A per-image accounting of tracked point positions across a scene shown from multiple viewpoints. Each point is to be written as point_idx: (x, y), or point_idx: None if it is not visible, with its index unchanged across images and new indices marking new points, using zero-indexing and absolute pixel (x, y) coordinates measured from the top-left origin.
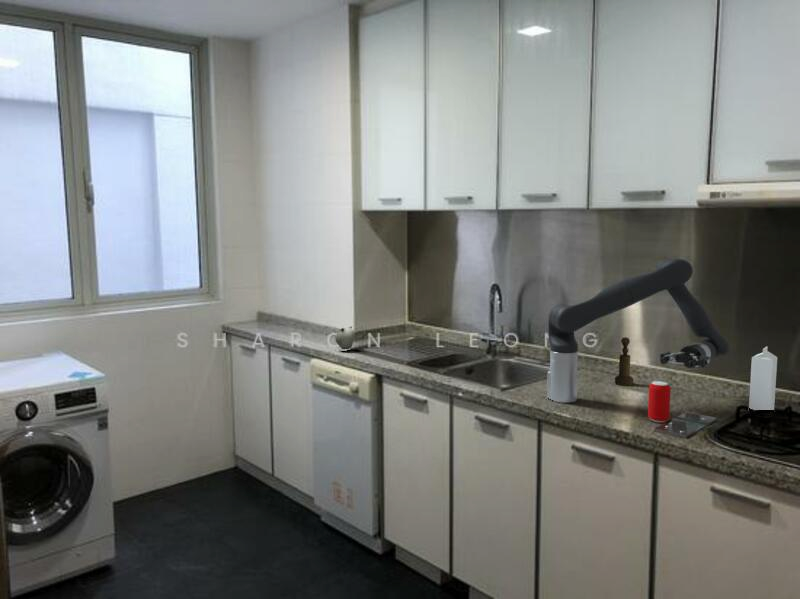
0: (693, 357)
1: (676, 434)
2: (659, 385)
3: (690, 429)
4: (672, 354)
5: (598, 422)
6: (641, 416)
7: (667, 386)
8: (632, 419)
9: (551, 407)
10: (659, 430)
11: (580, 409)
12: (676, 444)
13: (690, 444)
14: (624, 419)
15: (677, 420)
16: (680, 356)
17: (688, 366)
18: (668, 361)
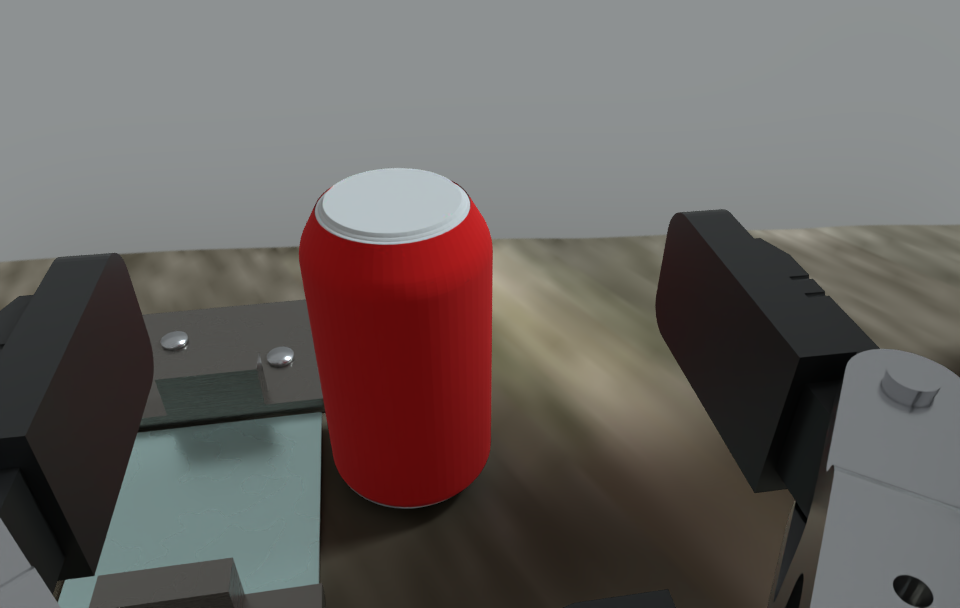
0: (4, 588)
1: (197, 314)
2: (364, 175)
3: None
4: (864, 479)
5: (605, 249)
6: (556, 460)
7: (311, 213)
8: (543, 376)
9: (951, 259)
10: (297, 304)
11: (867, 322)
12: (167, 256)
13: None
14: (570, 349)
15: (220, 355)
16: (597, 603)
17: (144, 337)
18: (793, 512)
